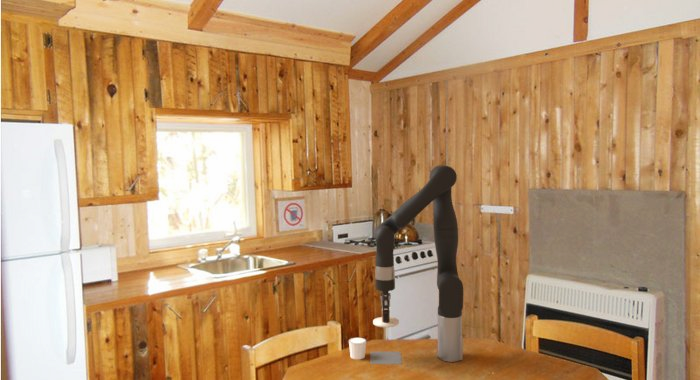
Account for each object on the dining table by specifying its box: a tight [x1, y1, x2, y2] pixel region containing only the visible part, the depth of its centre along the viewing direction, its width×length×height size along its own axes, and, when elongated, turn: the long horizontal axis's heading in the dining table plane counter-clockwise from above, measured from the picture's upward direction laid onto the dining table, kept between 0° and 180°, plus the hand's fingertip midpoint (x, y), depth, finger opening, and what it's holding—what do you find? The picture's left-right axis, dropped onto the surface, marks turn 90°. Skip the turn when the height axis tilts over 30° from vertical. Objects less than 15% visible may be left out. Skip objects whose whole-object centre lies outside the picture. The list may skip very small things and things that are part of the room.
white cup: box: [348, 337, 367, 360], centre depth 198 cm, size 7×7×7 cm
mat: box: [369, 351, 403, 365], centre depth 197 cm, size 12×12×1 cm
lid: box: [372, 307, 400, 328], centre depth 196 cm, size 10×10×5 cm
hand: (385, 320), depth 196 cm, fingers closed on lid, 3 cm apart
